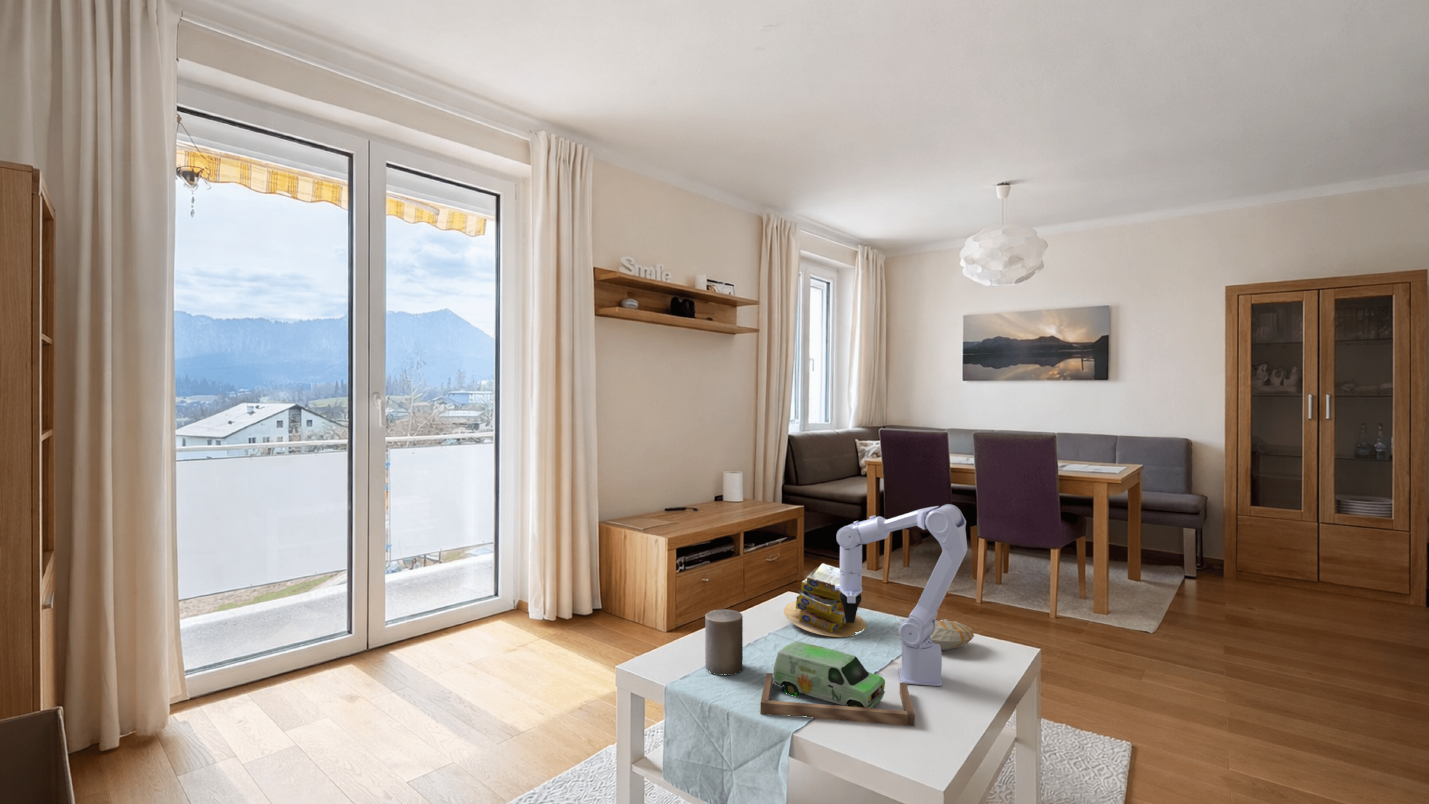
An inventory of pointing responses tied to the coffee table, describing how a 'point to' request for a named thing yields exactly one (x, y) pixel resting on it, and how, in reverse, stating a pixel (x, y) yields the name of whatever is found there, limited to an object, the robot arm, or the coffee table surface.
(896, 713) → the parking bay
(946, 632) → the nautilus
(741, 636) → the pillar candle
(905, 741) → the coffee table surface
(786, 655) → the toy car
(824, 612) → the stacked boxes on plate
